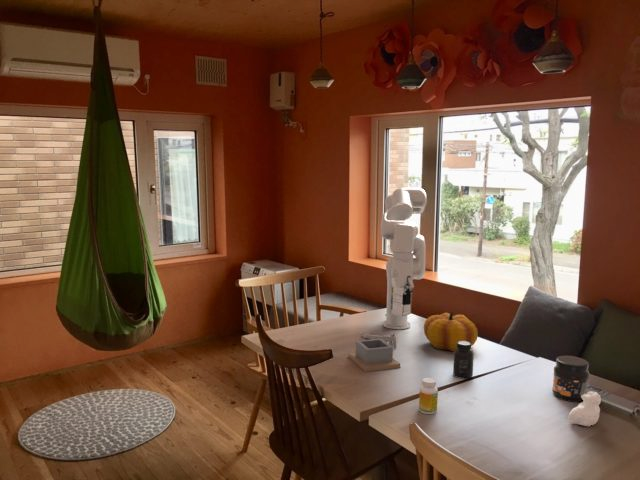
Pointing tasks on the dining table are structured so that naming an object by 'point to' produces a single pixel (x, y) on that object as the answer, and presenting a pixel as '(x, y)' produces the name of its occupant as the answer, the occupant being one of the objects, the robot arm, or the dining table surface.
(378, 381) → the dining table surface
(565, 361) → the supplement container
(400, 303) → the syrup box
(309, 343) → the dining table surface
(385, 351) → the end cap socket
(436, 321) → the decorative pumpkin
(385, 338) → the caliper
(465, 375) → the supplement bottle
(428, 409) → the supplement bottle
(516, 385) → the dining table surface
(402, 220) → the robot arm
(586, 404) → the bust
